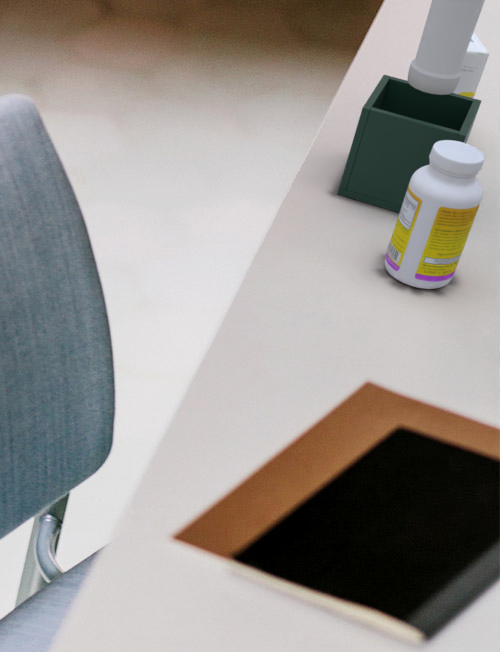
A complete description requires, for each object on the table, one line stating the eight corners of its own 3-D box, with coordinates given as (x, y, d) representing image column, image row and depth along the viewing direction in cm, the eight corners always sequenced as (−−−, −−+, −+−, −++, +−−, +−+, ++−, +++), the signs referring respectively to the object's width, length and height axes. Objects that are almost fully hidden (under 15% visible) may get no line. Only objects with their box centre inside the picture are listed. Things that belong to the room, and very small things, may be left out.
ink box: (457, 152, 139) (502, 27, 129) (415, 148, 138) (457, 21, 129) (440, 121, 145) (481, -1, 136) (400, 116, 145) (439, -6, 136)
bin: (451, 184, 132) (481, 100, 126) (435, 223, 124) (466, 135, 118) (358, 157, 135) (383, 74, 128) (337, 194, 127) (362, 107, 121)
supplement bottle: (462, 276, 116) (509, 155, 108) (430, 299, 112) (476, 175, 104) (402, 248, 119) (443, 128, 111) (369, 269, 115) (409, 147, 107)
